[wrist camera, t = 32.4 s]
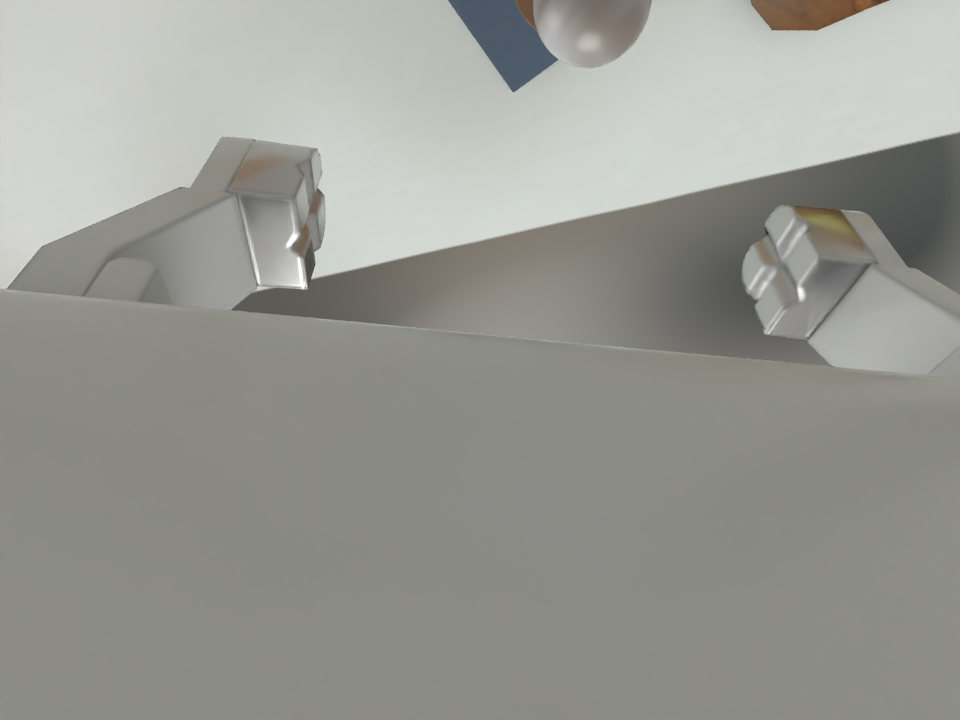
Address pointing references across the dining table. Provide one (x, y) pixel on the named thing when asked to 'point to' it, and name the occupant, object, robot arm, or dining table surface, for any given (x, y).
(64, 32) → the dining table surface
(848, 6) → the cutting board
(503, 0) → the placemat
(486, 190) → the dining table surface
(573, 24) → the salt mill
